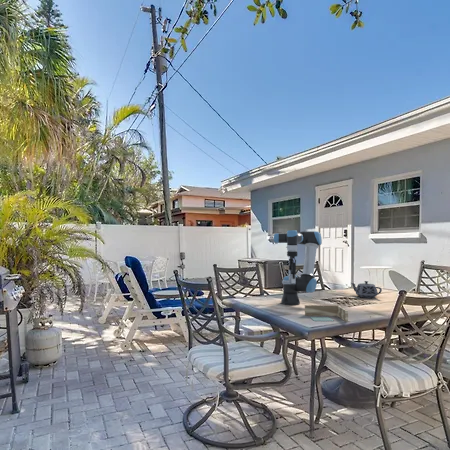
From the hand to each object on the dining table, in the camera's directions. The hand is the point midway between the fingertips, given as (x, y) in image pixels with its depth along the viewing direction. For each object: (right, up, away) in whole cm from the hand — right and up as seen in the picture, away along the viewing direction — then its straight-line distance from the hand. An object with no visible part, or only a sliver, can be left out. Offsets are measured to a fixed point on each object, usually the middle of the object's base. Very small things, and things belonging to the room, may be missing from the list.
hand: (292, 282), depth 242 cm
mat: (+15, -21, -22) cm, 34 cm away
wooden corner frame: (+19, -21, -18) cm, 33 cm away
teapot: (+82, -25, +66) cm, 108 cm away
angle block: (-3, -1, 0) cm, 3 cm away
